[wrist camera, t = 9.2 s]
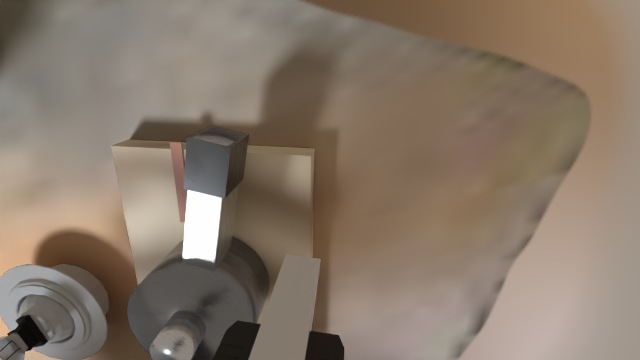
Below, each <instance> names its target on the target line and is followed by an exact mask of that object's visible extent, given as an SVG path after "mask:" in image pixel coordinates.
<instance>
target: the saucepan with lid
mask: <svg viewBox="0 0 640 360" xmlns="http://www.w3.org/2000/svg"><path fill="white" fill-rule="evenodd" d="M248 139H249V134H245V133H241V132H236V131H232V130H228V129H223V128H219V127H215V126H210V127H208V128H206V129H203V130H201V131H199V132H197V133H195V134H193V135H191V136H188V137H187V141H186V156H185V171H184V186H183V189H186V190H188V191H187V205H186V219H185V233H184V239H183V240H182V241H181V242H179V243H178V244H177V245H176V246H175V248H174V249H173V250H172V251H171V252H170V253H169V254H168V255H167V256H166V257H165V258H164V259H163V260H162V261H161V262H160V263H159V264H158V265H157V266H156V267H155V268H154V269H153V270H152V271H151V272H150V273H149V274H148V275H147V276H146V277H145V279H144V280H143V281H142V282H141V283H140V284H139V285H138V286H137V287H136V288H135V289H134V291H133V292H132V294H131V296H130V298H129V301H128V306H127V317H128V322H129V325H130V328H131V331H132V332H133V334H134V336H135V338H136V339H137V341H138V342H139V343H140V345H141V346H142V347H143V348H144V349H145V350H146V351H147V352H148V353H149V354H150V355H151V357H152V359H153V360H212V359H213V357H214V356H215V353H216V351H217V349H218V346H219V345H220V342H221V340H222V338H223V336H224V334H225V332H226V330H227V329H228V328H229V327H230V326H232V325H233V324H234V323H235V322H236V321H237V320H239V321H245V322H251V323H257V322H258V319H259V316H260V314H261V311H262V309H263V306H264V303H265V301H266V298H267V296H268V292H269V276H268V272H267V269H266V267H265V265H264V263H263V261H262V259H261V258H260V257H259V255H258V254H257V253H256V252H255V251H254V250H253V249H252V248H251V247H250V246H249V245H247V244H246V243H244V242H243V241H241V240H239V239H237V238H235V237H233V236H232V234H233V227H234V219H235V211H236V203H237V196H238V188H239V183H240V182H241V181H242V180H243V177H244V169H245V162H246V154H247V147H248Z"/></svg>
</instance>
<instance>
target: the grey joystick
mask: <svg viewBox="0 0 640 360" xmlns="http://www.w3.org/2000/svg"><path fill="white" fill-rule="evenodd" d="M108 310H109V298H108V293H107V292H106V290H105V288H104V287H103V285H102V284H101V282H100V281H99V280H98V279H97V278H96V277H94V276H93V275H92V274H91V273H90V272H88V271H86V270H84V269H82V268H80V267H78V266H74V265H68V264H60V265H56V266H52V267H47V266H43V265H32V264H26V265H21V266H16V267H14V268H12V269H10V270H8V271H7V272H6V273H4V274H3V275H2V276H1V278H0V316H1V318H2V320H3V322H4V323H5V324H6V326H7V327H8V329H9V330H10V331H11V332H10V333H8V336H6V337H0V358H1V359H2V360H24V357H25V351H29V350H31V349H33V350H35V351H38V352H40V353H42V354H44V355H46V356H48V357H52V358H57V359H63V360H80V359H85V358H88V357H90V356H92V355H94V354H95V353H97V352H98V351H99V350H100V349H101V348H102V346H103V345H104V343H105V341H106V338H107V321H106V317H105V315H106V313H107V312H108Z"/></svg>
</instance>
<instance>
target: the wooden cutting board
mask: <svg viewBox="0 0 640 360" xmlns="http://www.w3.org/2000/svg"><path fill="white" fill-rule="evenodd" d="M111 148H112V154H113V159H114V164H115V169H116V174H117V180H118V185H119V190H120V195H121V200H122V205H123V211H124V216H125V221H126V226H127V231H128V237H129V242H130V247H131V252H132V257H133V262H134V268H135V273H136V278H137V283H138V285H139V284H140V283H141V282H142V281H143V280H144V279H145V277H146V276H147V275H148V274H149V273H150V272H151V271H152V270H153V269H154V268H155V267H156V266H157V265H158V264H159V263H160V262H161V261H162V260H163V259H164V258H165V257H166V256H167V255H168V254H169V253H170V252H171V251H172V250H173V249H174V248H175V246H176V245H177V244H178V243H179V242H181V241H182V240H183V239H184V233H185V219H186V205H187V191H188V190H186V189H183V186H184V171H185V156H186V142H172V141H151V140H130V139H129V140H126V141H123V142H121V143H118V144H115V145H112V146H111ZM314 156H315V148H296V147H276V146H255V145H248V147H247V154H246V162H245V169H244V177H243V180H242V181H241V182H240V183H239V188H238V196H237V203H236V211H235V219H234V227H233V234H232V236H233V237H235V238H237V239H239V240H241V241H243V242H244V243H246V244H247V245H249V246H250V247H251V248H252V249H253V250H254V251H255V252H256V253H257V254H258V255H259V257H260V258H261V259H262V261H263V263H264V265H265V267H266V269H267V272H268V276H269V292H268V296H267V298H266V301H265V303H264V306H263V309H262V311H261V314H260V316H259V319H258V322H257V323H258V324H261V323H262V320H263V317H264V314H265V311H266V309H267V306H268V303H269V300H270V297H271V294H272V292H273V289H274V286H275V283H276V280H277V278H278V275H279V272H280V269H281V266H282V263H283V261H284V258H285V255H286V254H290V255H297V256H304V257H311V258H313V219H314ZM311 331H312V329H311ZM152 360H153V359H152Z"/></svg>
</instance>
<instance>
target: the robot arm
mask: <svg viewBox="0 0 640 360" xmlns="http://www.w3.org/2000/svg"><path fill="white" fill-rule="evenodd" d="M320 263H321V259H318V258H311V257H304V256H297V255H290V254H286V255H285V258H284V261H283V263H282V266H281V269H280V272H279V275H278V278H277V280H276V283H275V286H274V289H273V292H272V294H271V297H270V300H269V303H268V306H267V309H266V311H265V314H264V317H263V320H262V323H261V324H258V323H251V322H245V321H239V320H237V321H236V322H235V323H234V324H233V325H232V326H230V327H229V328H228V329H227V330H226V332H225V334H224V336H223V338H222V340H221V342H220V345H219V346H218V349H217V351H216V353H215V356H214V357H213V359H212V360H344V347H343V344H342V342H341V340H340V337H339V335H333V334H327V333H321V332H314V331H311V329H312V323H313V316H314V310H315V302H316V294H317V286H318V278H319V271H320Z"/></svg>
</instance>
